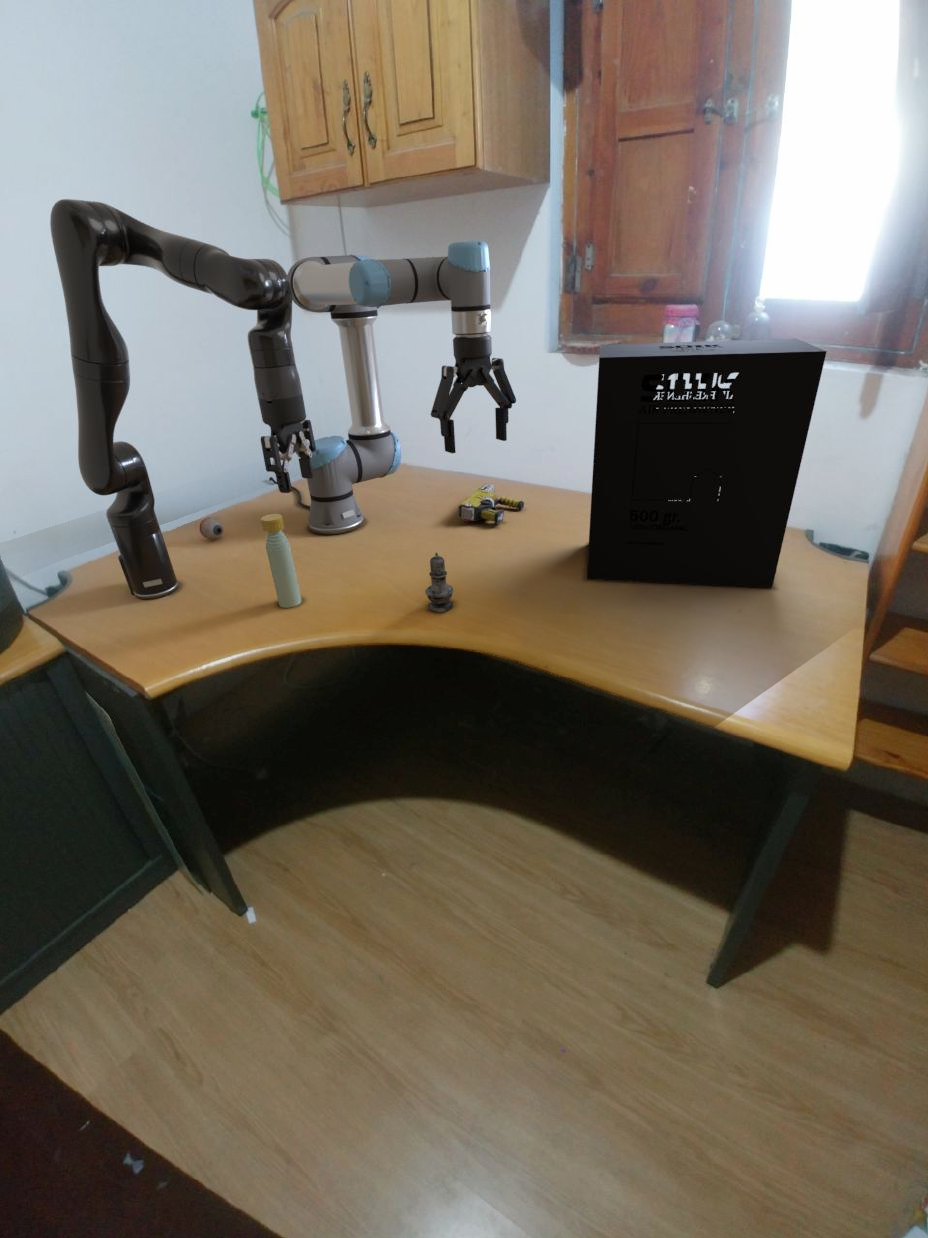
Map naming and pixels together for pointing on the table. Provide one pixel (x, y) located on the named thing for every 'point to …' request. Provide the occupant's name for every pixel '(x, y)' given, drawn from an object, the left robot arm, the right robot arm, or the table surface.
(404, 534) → the table surface
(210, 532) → the eyeball
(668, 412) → the cardboard box
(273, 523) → the cap
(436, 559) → the grey chess piece
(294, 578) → the bottle
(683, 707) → the table surface
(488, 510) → the toy gun
